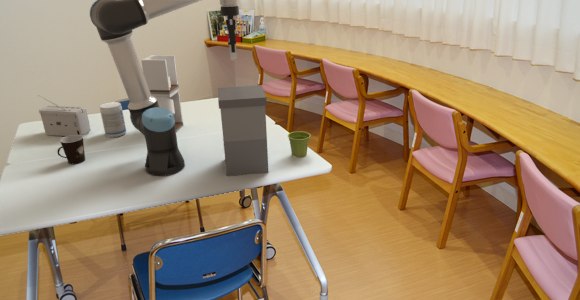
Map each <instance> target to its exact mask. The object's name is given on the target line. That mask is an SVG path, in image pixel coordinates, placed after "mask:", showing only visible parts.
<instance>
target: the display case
mask: <svg viewBox="0 0 580 300" xmlns="http://www.w3.org/2000/svg"><path fill="white" fill-rule="evenodd" d="M140 63H141V68H142V71H143V74H144V77H145V79H146V82H147V85H148V88H149V90H150V93H151V95H152V96H154V97H156V98H157V101H158V104H159V107H162V108H167V109H169V110H170V111H171V112H172V113H173V116H174V119H175V129H176V133H178V131H179V130H181V129H182V128H183V127H184V118H183V112H182V104H181V96H180V88H179V82H178V81H179V79H178V73H177V72H178V71H177V64H176V56H175V55H173V54H171V55H167V54H166V55H165V54H164V55H162V54H161V55H159V54H155V55H154V54H151V55H149V56H147V57H144V58H143V59H141V61H140Z"/></svg>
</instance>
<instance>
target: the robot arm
mask: <svg viewBox="0 0 580 300" xmlns="http://www.w3.org/2000/svg"><path fill="white" fill-rule="evenodd" d="M200 1H202V0H95V1H94V2H93V3H92V4H91V6H90V8H89V18H90V22H91V23H92V24H93V25H94V27H95V28H96V30H97V33H98V36H99V37H100V40H101V42H104V43H105V44H107V47H108V49H109V53H110V54H111V57H112V60H113V62H114V65H115V67H116V70H117V72H118V74H119V77H120V80H121V83H122V85H123V88H124V90H125V92H126V95H127V97H128V101H129V103H128V105H127V109H128V111H129V113H130V114H129V119H130V122H131V124H132V126H133V127H134V128H135V129H136V130H138V131H139V132H140V133H141V134H142V135H143V136H144V139H145V145H146V151H147V153H146V158H145V162H144V163H145V164H144V168H145V172H146V173H147V174H148V175H150V176H155V177H163V176H170V175H174V174H177V173H179V172H180V171H182V170H184V169H185V166H186V164H185V159H184V157H183V154H182V153H181V150H180V149H179V146H178V136H177V132H176V129H175V119H174V116H173V113H172V112H171V111H170V110H169V109H167V108H162V107H159V104H158V101H157V98H156V97H154V96H152V95H151V93H150V90H149V88H148V85H147V82H146V79H145V77H144V74H143V68H142V64H141V62H140V60H139V57H138V54H137V52H136V49H135V47H134V44H133V41H132V38H131V36H132V35H133V34H134V31H133V30H135V29H137V28H140V27H143V26H145V25H147V24H148V22H149V21H150V20H153V19H155V18H158V17H160V16H164V15H166V14H169V13H171V12H173V11H178V10H179V9H182V8H185V7H188V6H190V5H193V4H196V3H199V2H200ZM238 4H239V0H219V5H220V15H221V16H222V17H226V20H225V24H226V28H227V30H226V31H228V32H227V33H228V34H227V35H228V42H227V45H228V48H229V55H230V56H229V57H230V61H237V60H238V54H237V53H238V52H237V41H236V40H237V36H236V19H235V18H234V17H235V16H239V15H240V8H239V6H238Z"/></svg>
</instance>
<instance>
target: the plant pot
mask: <svg viewBox="0 0 580 300" xmlns="http://www.w3.org/2000/svg"><path fill="white" fill-rule="evenodd" d="M287 138H288V141H289V145H290V150H291V155H292V157H295V158H300V157H301V158H303V157H307V154H308V148H309V141H310V139H311V133H309V132H307V131H292V132H289V133H288V134H287Z"/></svg>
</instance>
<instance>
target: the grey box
mask: <svg viewBox="0 0 580 300" xmlns="http://www.w3.org/2000/svg"><path fill="white" fill-rule="evenodd" d="M217 90H218V91H217V94H218V95H217V99H218V109H220V117H221V118H220V119H221V128H222V129H221V130H222V140H223V149H224V150H223V151H224V161H225V172H226V173H225V174H226V177H232V176H244V175H254V174H256V175H257V174H265V173H269V172H270V171H269V157H268V152H269V150H268V135H267V133H268V132H267V116H266V115H267V114H266V106H267V105H268V104H267V101H268V100H267V96H266V93H265V90H264V87H263V85H261V84H260V85H245V86H244V85H243V86H229V87H228V86H227V87H218V88H217Z"/></svg>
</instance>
